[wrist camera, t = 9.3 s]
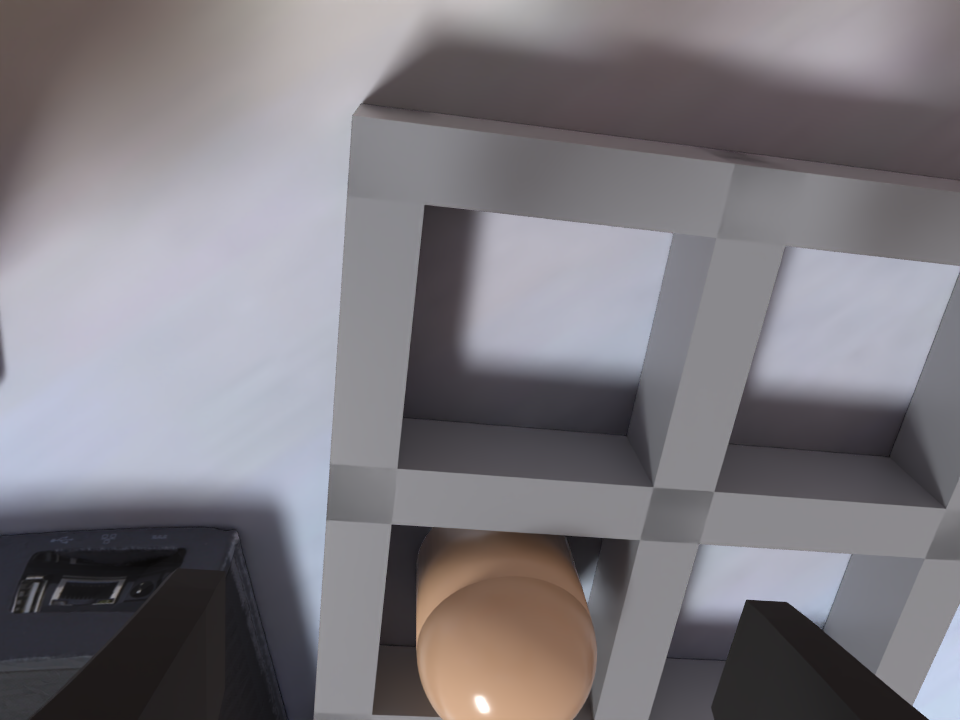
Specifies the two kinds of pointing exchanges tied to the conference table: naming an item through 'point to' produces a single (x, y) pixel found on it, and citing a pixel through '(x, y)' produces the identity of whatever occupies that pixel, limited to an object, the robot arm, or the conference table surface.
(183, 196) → the conference table surface
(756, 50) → the conference table surface
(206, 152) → the conference table surface
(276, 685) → the external hard drive
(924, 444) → the egg crate
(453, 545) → the tan bulbous object
